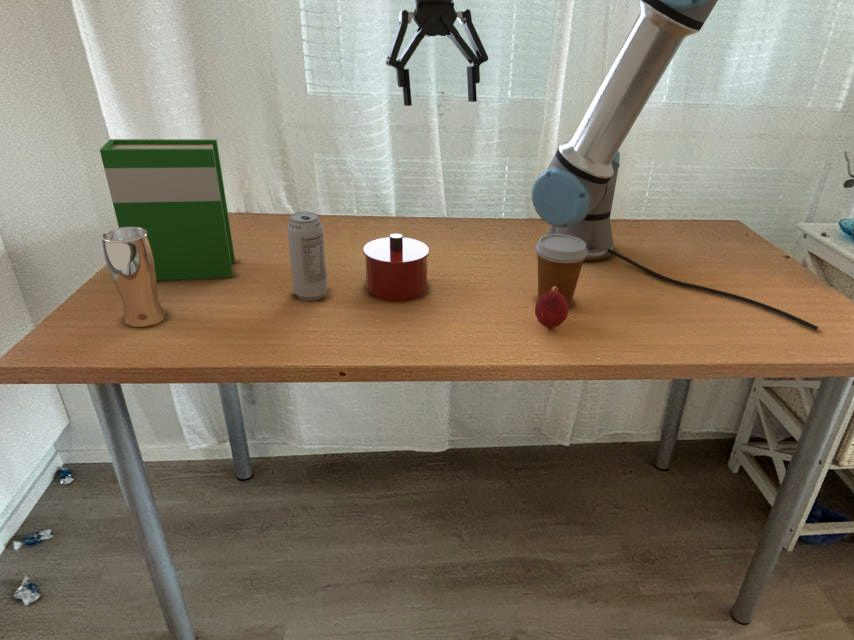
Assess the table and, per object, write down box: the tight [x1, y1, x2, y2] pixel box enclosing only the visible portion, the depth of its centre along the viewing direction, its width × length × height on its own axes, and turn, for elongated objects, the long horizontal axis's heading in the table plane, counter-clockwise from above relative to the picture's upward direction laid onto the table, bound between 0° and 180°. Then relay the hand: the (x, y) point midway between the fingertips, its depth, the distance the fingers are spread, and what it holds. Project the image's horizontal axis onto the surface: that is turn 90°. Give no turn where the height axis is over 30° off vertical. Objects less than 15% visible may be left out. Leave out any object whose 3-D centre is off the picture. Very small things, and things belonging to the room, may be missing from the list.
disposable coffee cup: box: [535, 234, 588, 308], centre depth 119 cm, size 10×10×12 cm
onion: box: [534, 286, 570, 330], centre depth 111 cm, size 6×6×8 cm
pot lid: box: [362, 233, 430, 265], centre depth 119 cm, size 12×12×4 cm
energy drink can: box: [286, 211, 328, 302], centre depth 115 cm, size 6×6×15 cm
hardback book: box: [99, 138, 236, 281], centre depth 118 cm, size 18×7×24 cm, turn 104°
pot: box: [364, 255, 428, 302], centre depth 122 cm, size 11×11×7 cm
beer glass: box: [100, 227, 166, 328], centre depth 104 cm, size 7×7×15 cm
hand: (440, 103), depth 128 cm, fingers open, 13 cm apart
